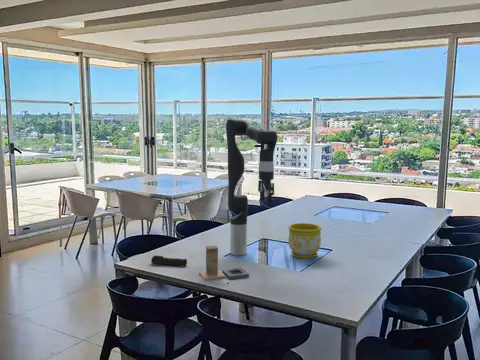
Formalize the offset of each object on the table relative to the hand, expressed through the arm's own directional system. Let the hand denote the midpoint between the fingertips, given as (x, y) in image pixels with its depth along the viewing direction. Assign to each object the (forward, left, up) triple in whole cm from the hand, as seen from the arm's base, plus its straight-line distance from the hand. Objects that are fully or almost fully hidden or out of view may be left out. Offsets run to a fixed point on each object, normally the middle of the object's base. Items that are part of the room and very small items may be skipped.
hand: (265, 201), depth 230 cm
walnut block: (+6, -30, -32) cm, 45 cm away
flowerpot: (-9, +28, -33) cm, 44 cm away
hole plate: (+9, -19, -33) cm, 39 cm away
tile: (+6, -30, -33) cm, 45 cm away
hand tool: (-17, -46, -34) cm, 60 cm away
